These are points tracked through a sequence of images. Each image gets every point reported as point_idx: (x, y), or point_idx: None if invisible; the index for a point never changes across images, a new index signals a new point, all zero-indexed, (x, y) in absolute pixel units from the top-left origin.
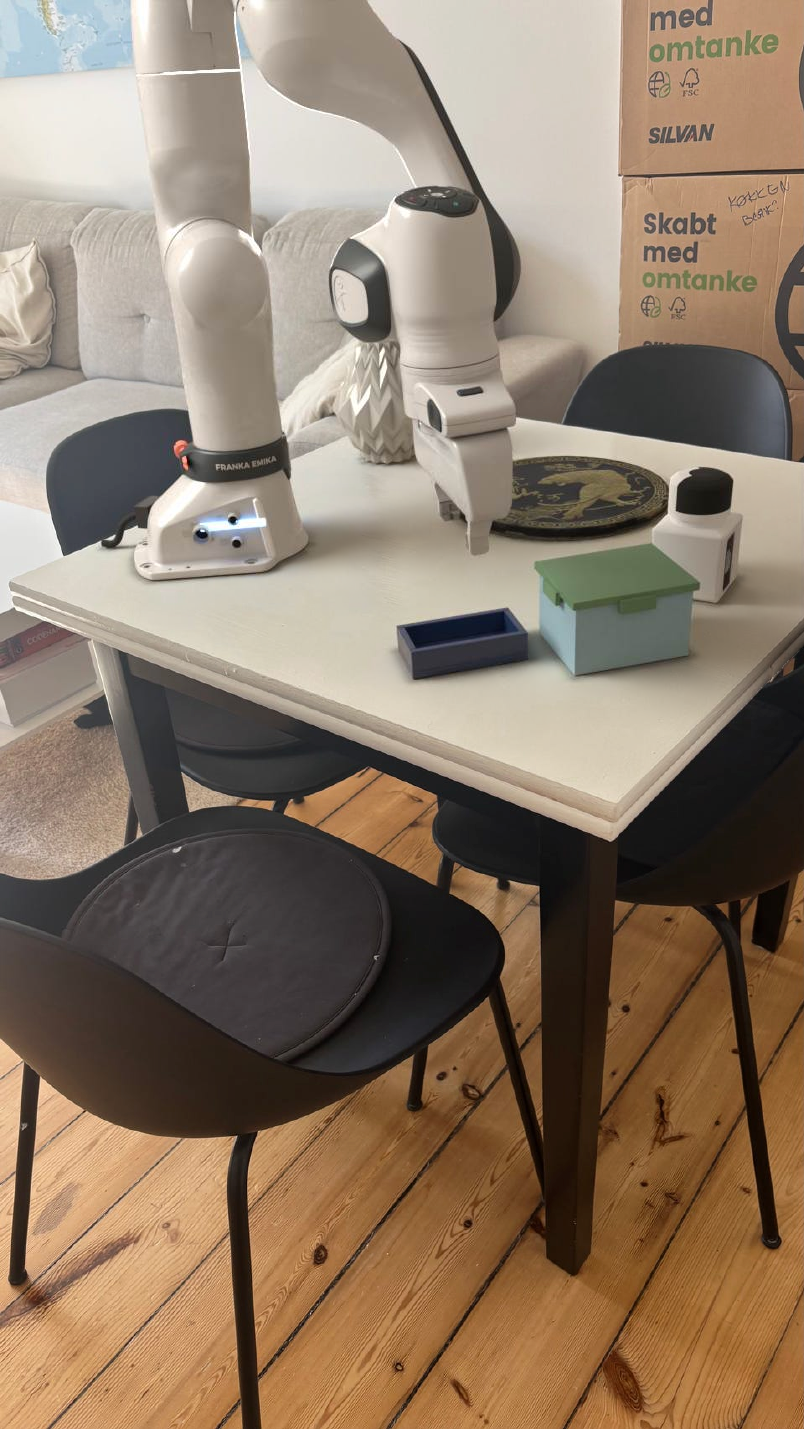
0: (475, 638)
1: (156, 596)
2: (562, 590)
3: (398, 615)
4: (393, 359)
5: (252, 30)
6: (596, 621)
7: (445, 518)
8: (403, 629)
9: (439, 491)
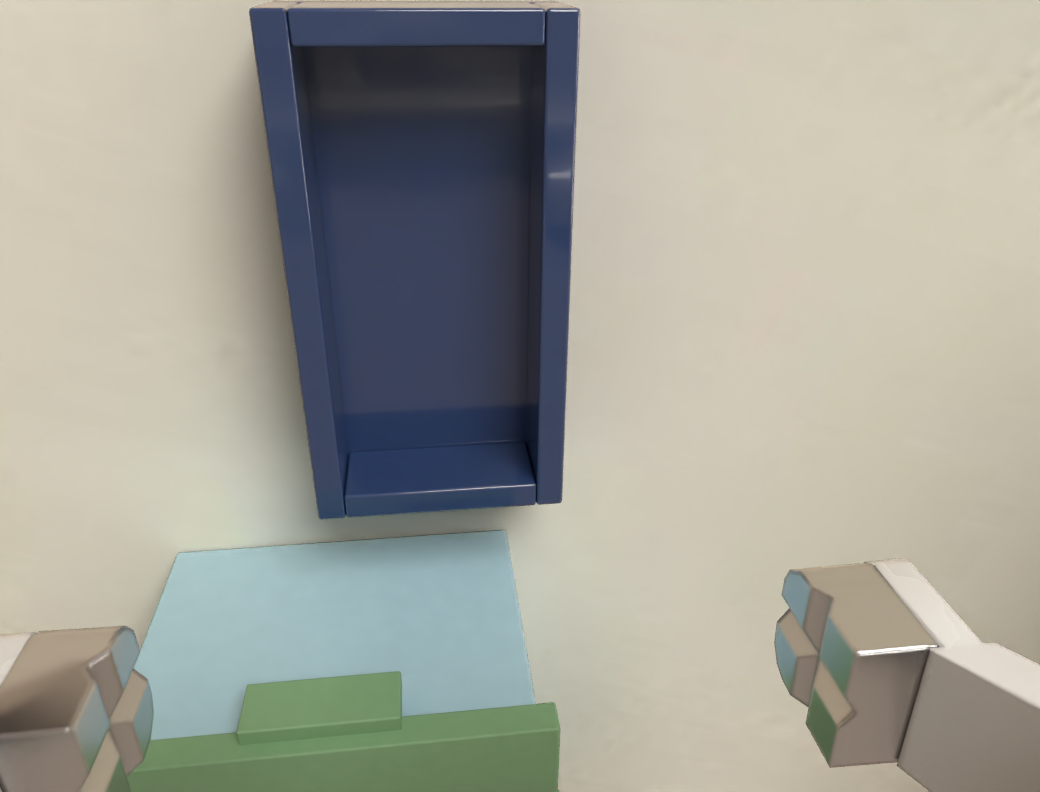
0: (494, 333)
1: None
2: (211, 766)
3: (886, 89)
4: None
5: None
6: None
7: (795, 590)
8: (521, 34)
9: (1026, 732)
